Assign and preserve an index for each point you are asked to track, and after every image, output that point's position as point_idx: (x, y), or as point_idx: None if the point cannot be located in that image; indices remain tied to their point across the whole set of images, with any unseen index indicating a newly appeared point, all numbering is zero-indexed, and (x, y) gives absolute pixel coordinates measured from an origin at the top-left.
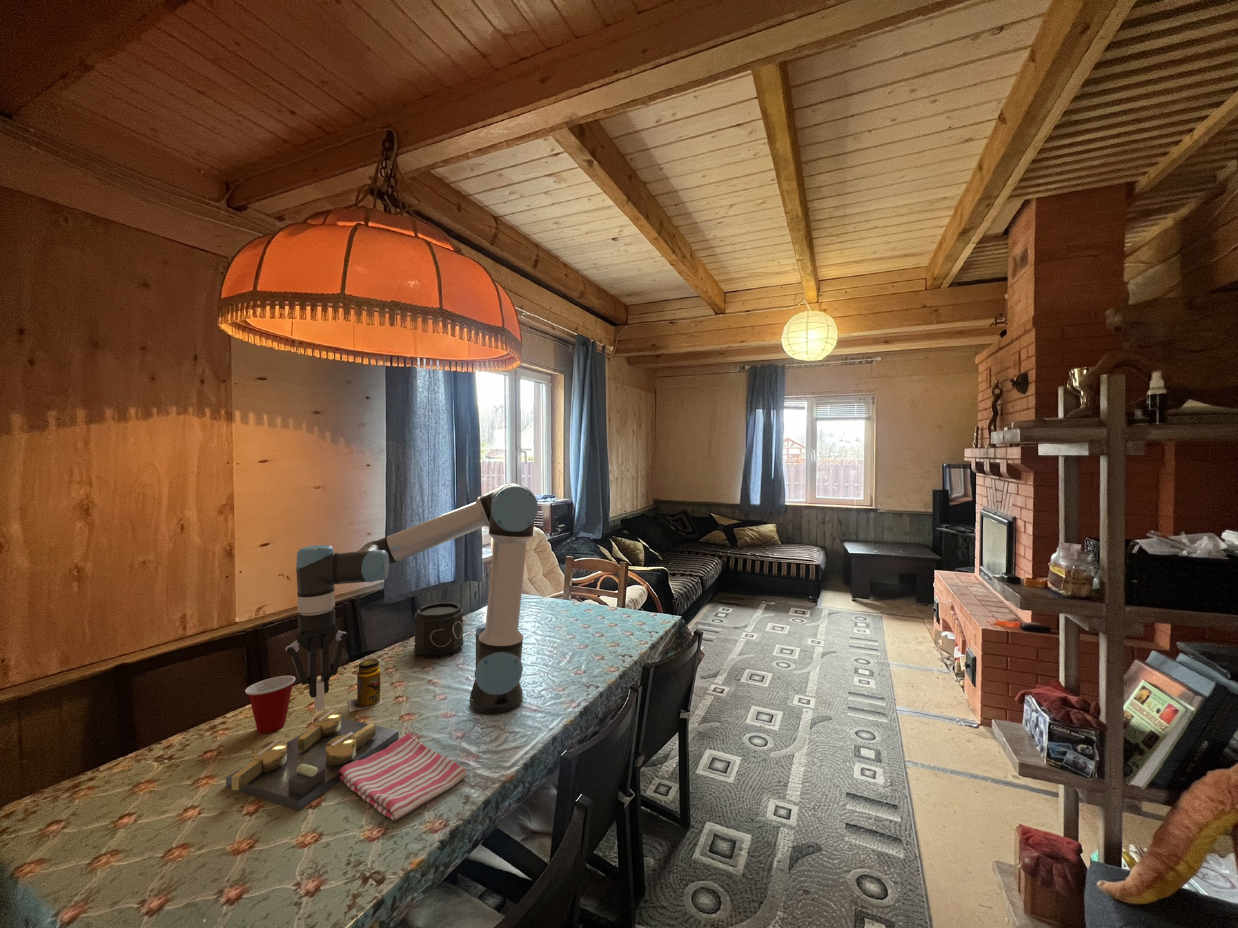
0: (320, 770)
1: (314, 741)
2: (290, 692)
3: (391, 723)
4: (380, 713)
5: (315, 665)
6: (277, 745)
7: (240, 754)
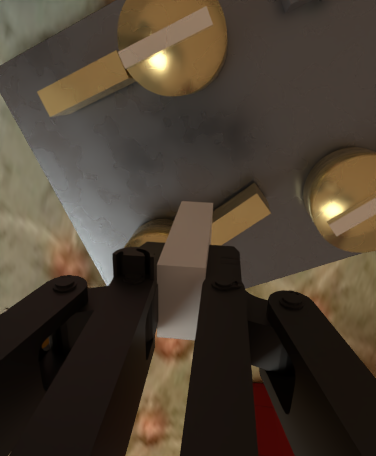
0: None
1: (216, 209)
2: None
3: (5, 185)
4: (20, 265)
5: (196, 388)
6: (342, 207)
7: (353, 342)
